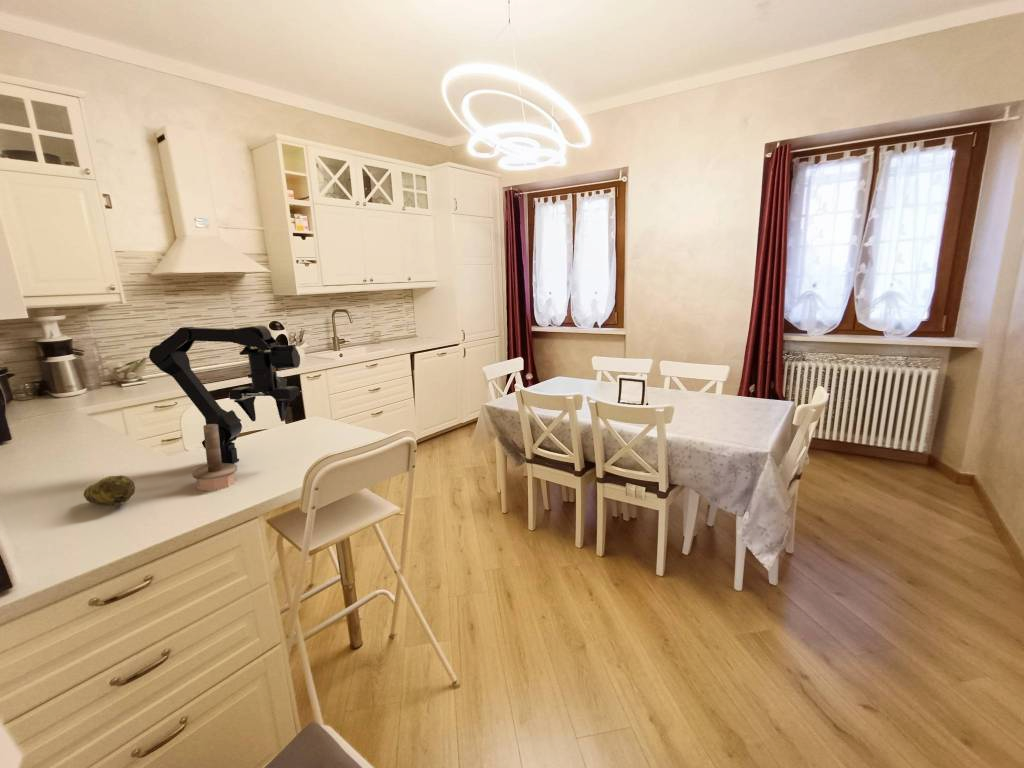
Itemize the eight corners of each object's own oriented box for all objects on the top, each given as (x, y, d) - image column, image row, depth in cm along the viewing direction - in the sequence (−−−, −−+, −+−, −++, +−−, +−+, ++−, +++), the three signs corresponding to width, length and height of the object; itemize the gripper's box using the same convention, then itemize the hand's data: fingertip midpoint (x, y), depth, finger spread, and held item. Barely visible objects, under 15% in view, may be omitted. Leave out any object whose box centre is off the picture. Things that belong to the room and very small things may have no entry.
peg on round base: (183, 479, 114) (177, 430, 111) (208, 465, 123) (203, 420, 121) (223, 479, 114) (218, 431, 112) (244, 465, 124) (241, 420, 122)
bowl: (191, 490, 115) (189, 477, 115) (210, 478, 123) (209, 466, 122) (222, 490, 116) (221, 478, 115) (240, 478, 123) (239, 466, 123)
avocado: (128, 492, 113) (124, 462, 112) (141, 508, 105) (137, 476, 104) (83, 503, 107) (78, 472, 105) (93, 521, 99) (88, 487, 97)
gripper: (306, 364, 137) (312, 414, 140) (250, 365, 139) (257, 414, 142) (285, 370, 126) (291, 423, 129) (224, 371, 128) (231, 423, 131)
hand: (268, 421), depth 133 cm, fingers open, 9 cm apart
